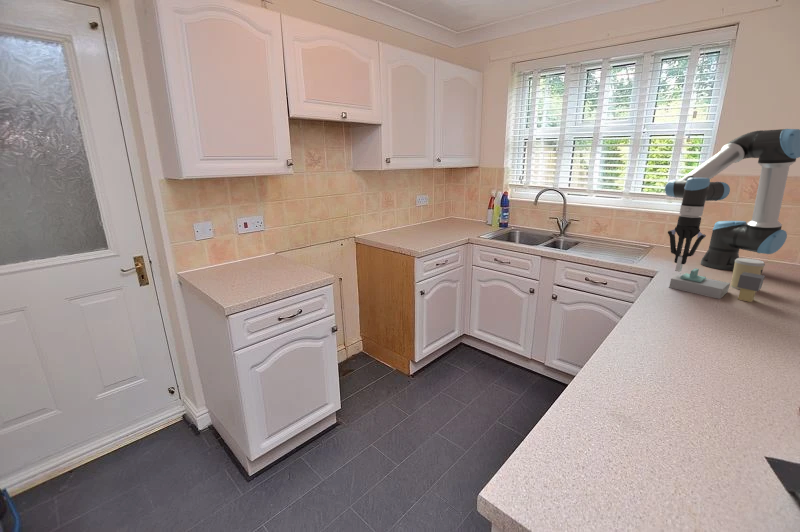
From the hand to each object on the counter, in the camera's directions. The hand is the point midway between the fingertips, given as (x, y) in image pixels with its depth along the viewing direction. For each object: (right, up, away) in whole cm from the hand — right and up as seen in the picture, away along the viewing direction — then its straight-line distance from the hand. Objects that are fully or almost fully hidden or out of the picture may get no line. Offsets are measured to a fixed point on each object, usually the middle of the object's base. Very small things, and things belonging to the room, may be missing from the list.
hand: (678, 270), depth 160 cm
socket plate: (+5, -8, -4) cm, 10 cm away
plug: (+15, -11, -15) cm, 24 cm away
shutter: (+3, -3, -4) cm, 6 cm away
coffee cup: (+26, -7, -2) cm, 27 cm away
